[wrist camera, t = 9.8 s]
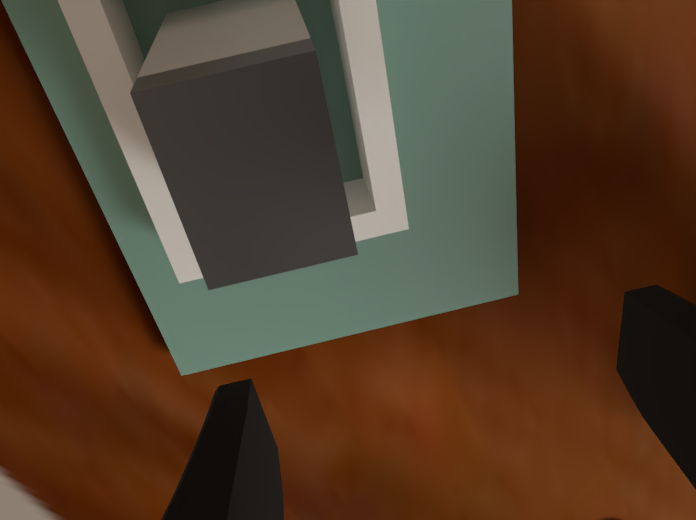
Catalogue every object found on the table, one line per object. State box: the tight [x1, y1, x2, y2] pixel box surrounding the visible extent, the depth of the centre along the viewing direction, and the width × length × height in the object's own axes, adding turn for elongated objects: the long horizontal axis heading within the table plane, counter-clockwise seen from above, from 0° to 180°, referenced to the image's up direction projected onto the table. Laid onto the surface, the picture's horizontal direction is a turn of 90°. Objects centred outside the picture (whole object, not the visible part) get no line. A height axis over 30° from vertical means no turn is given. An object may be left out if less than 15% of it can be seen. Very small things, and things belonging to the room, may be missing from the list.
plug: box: [130, 0, 358, 290], centre depth 13 cm, size 4×3×6 cm
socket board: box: [1, 0, 518, 376], centre depth 15 cm, size 18×12×3 cm, turn 10°
